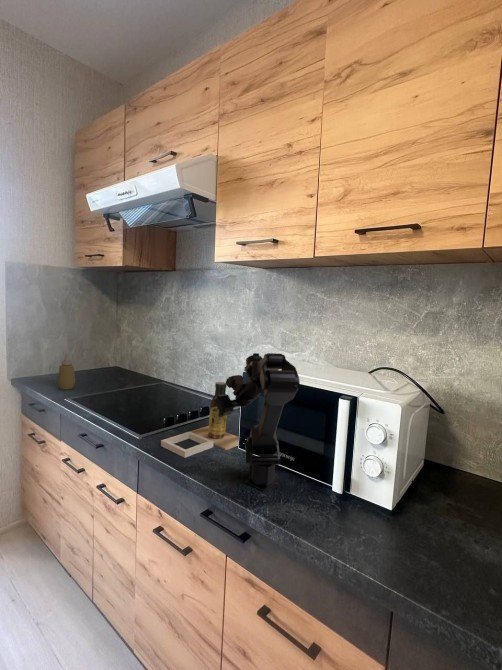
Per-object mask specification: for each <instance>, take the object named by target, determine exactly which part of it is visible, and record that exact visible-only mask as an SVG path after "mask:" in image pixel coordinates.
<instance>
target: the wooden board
mask: <svg viewBox="0 0 502 670" xmlns="http://www.w3.org/2000/svg"><path fill="white" fill-rule="evenodd" d="M208 428H209V425H207V426H203V427H200V428H197V429H194V430H191V431H189V432H192V433H194V434H197V435H199V436H202V437H204V438H206V439H209V440H211V441H213V447H214V446H215V447H217V448H219V449H221V450H224V451H227V450H230V449H232V448H235V447H237V446H239V445H238V439H239V437H240V436H237V435H235V434H232V433H229V432H227V431H225V435H224V437H223V438H219V439H215V438H211V437H209V435H208V433H209V432H208Z"/></svg>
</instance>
